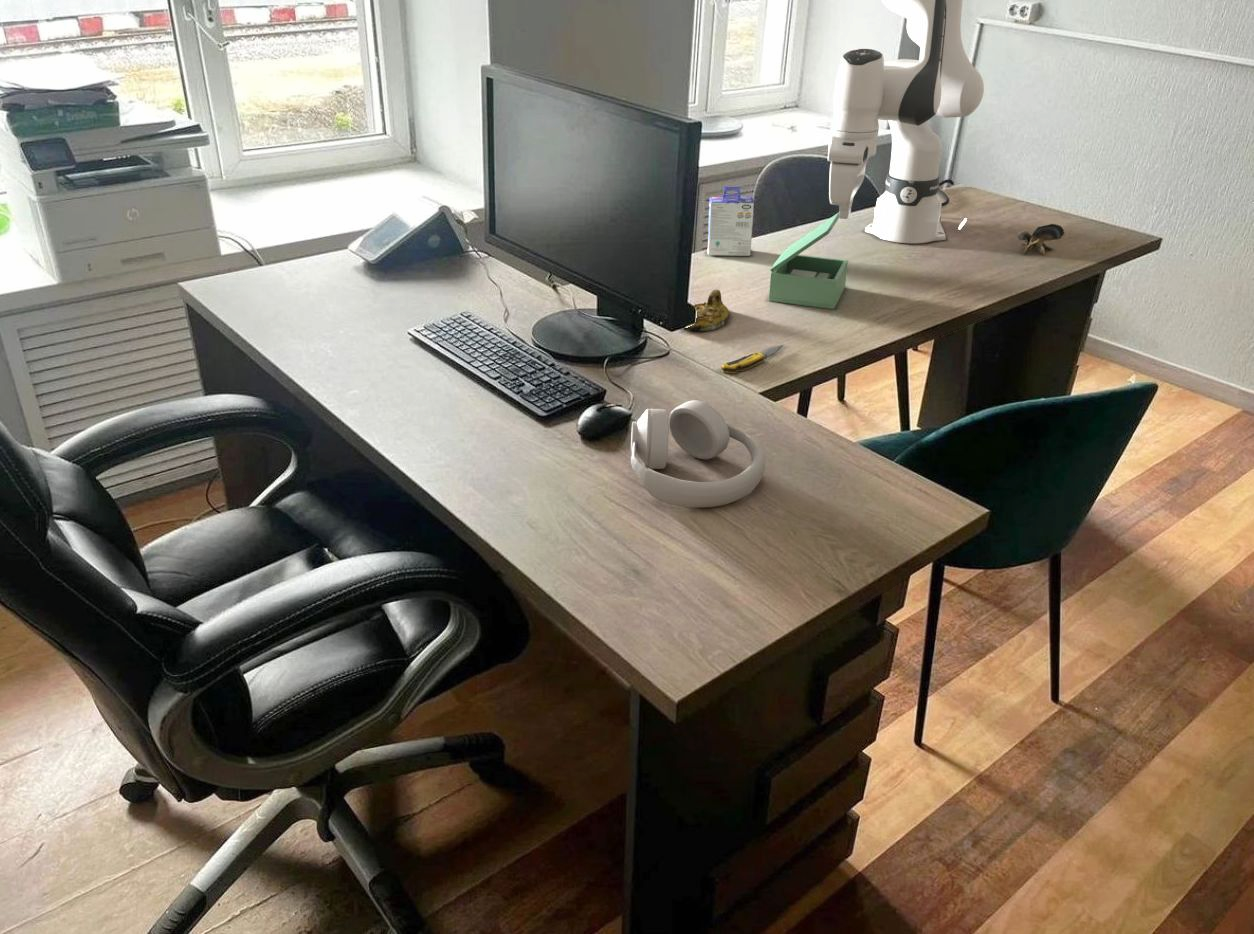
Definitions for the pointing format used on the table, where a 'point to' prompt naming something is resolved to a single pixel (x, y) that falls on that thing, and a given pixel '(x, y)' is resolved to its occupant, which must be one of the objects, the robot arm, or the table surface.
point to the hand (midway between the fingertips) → (844, 216)
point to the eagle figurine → (1040, 237)
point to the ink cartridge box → (730, 224)
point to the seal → (710, 313)
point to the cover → (805, 242)
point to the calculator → (810, 274)
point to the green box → (809, 282)
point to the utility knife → (749, 360)
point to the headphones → (699, 437)
